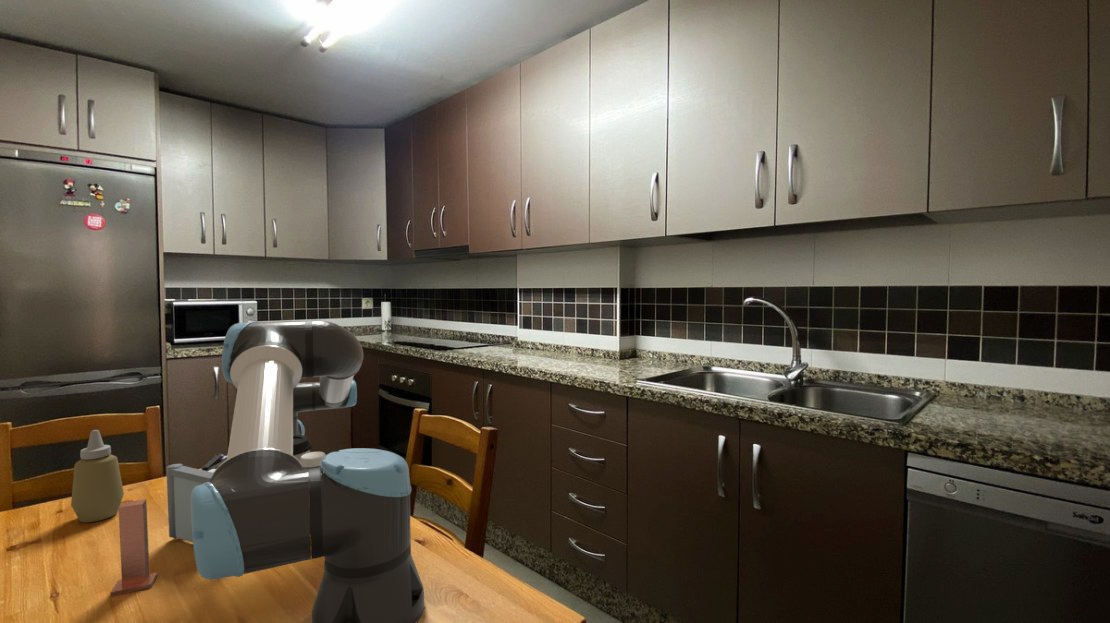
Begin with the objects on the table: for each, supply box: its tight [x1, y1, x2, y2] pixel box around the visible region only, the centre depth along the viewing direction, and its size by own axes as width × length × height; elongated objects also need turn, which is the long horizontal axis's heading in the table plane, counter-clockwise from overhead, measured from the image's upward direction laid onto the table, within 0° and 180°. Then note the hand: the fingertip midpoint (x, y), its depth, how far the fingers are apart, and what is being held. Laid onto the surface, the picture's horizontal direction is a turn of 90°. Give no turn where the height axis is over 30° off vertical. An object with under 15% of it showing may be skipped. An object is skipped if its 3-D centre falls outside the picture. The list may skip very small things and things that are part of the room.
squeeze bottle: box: [70, 429, 125, 523], centre depth 104 cm, size 8×8×18 cm
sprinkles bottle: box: [301, 451, 327, 503], centre depth 103 cm, size 5×5×14 cm
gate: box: [166, 463, 213, 543], centre depth 92 cm, size 16×2×14 cm, turn 66°
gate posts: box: [109, 498, 158, 597], centre depth 84 cm, size 18×7×16 cm, turn 116°
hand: (194, 487), depth 100 cm, fingers closed
